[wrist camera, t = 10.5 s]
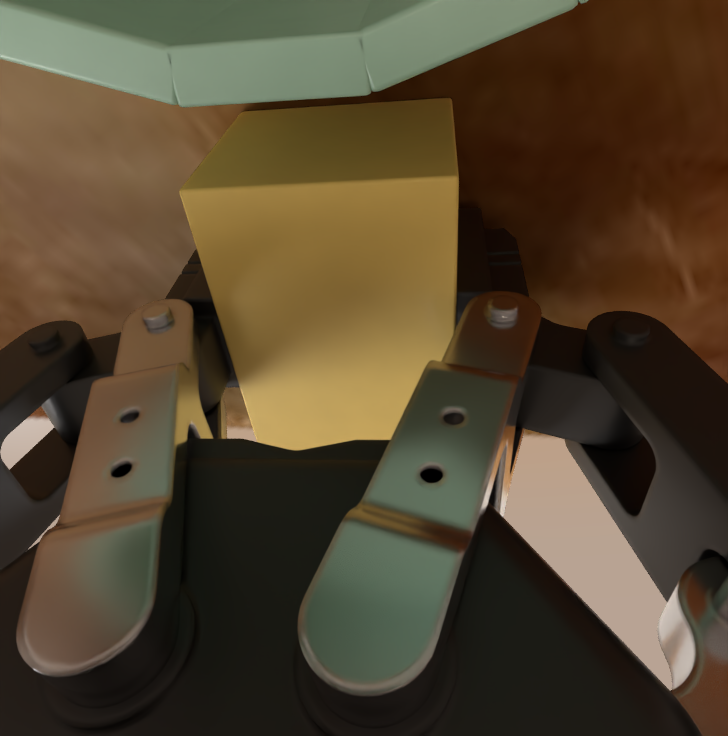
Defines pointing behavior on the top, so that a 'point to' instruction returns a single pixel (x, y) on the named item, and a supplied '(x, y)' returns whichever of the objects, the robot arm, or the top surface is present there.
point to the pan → (255, 43)
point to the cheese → (330, 261)
